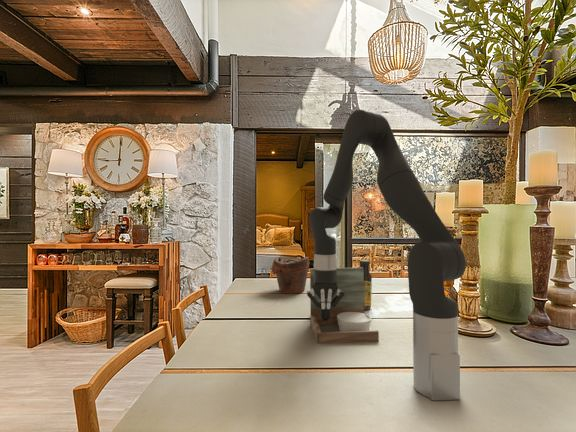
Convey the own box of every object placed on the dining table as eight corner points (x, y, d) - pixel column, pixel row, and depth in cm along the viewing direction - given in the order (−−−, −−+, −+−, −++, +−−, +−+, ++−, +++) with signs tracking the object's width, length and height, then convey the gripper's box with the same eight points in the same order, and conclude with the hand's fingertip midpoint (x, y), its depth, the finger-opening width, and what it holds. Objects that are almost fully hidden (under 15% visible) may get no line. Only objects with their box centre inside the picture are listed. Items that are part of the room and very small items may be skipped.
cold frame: (378, 341, 103) (378, 276, 103) (317, 343, 102) (316, 277, 102) (363, 323, 120) (362, 267, 120) (310, 324, 119) (310, 268, 119)
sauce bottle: (355, 309, 137) (355, 261, 136) (356, 305, 143) (355, 259, 143) (372, 310, 135) (371, 261, 135) (371, 306, 141) (371, 259, 141)
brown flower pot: (267, 288, 177) (267, 254, 177) (303, 285, 183) (303, 253, 183) (276, 296, 160) (276, 259, 160) (315, 293, 166) (315, 257, 166)
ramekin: (375, 338, 106) (374, 322, 106) (339, 338, 106) (339, 322, 106) (367, 326, 117) (367, 311, 117) (335, 326, 117) (335, 311, 117)
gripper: (306, 269, 107) (306, 323, 107) (347, 269, 107) (347, 322, 108) (304, 265, 114) (304, 316, 114) (342, 265, 115) (342, 315, 115)
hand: (325, 319), depth 111 cm, fingers closed
